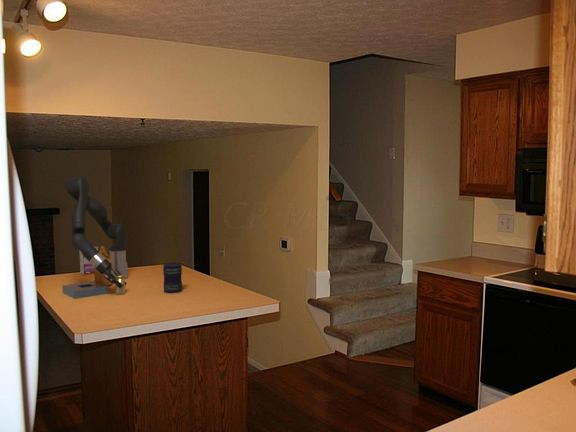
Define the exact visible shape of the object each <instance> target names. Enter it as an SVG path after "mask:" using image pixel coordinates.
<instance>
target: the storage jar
mask: <svg viewBox="0 0 576 432" xmlns="http://www.w3.org/2000/svg"><path fill="white" fill-rule="evenodd" d="M182 267H183V265H182V263H181V262H168V263H167V262H165V263H164V264H163V269H162V270H163V271H162V275H163V293H164V294H179V293H182V292H183V288H182V287H183V281H182V274H183V273H182V272H183V268H182Z"/></svg>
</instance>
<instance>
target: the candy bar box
mask: <svg viewBox="0 0 576 432" xmlns="http://www.w3.org/2000/svg"><path fill="white" fill-rule="evenodd" d="M93 247H94V248H96V249H97V250H98V251H100V248H99V246H93ZM78 251H79V252H78V253H79V267H80V270H79V271H80V274H81V275H89V274H88V273H86V272H90V274H94V273H95V268H94V267H93V266H92V264H91V263H90V262H89V261H88V260H87V259H86V258H85V257H84V256H83V254H82V252H81V251H80V250H79V249H78Z"/></svg>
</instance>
